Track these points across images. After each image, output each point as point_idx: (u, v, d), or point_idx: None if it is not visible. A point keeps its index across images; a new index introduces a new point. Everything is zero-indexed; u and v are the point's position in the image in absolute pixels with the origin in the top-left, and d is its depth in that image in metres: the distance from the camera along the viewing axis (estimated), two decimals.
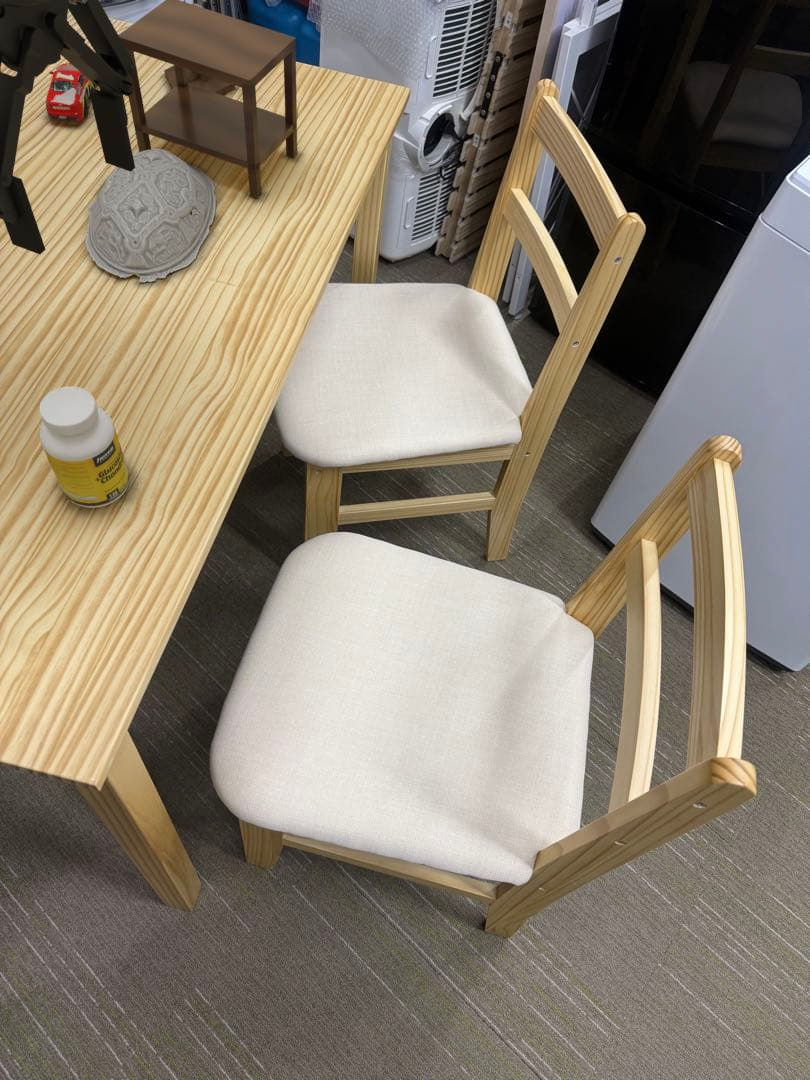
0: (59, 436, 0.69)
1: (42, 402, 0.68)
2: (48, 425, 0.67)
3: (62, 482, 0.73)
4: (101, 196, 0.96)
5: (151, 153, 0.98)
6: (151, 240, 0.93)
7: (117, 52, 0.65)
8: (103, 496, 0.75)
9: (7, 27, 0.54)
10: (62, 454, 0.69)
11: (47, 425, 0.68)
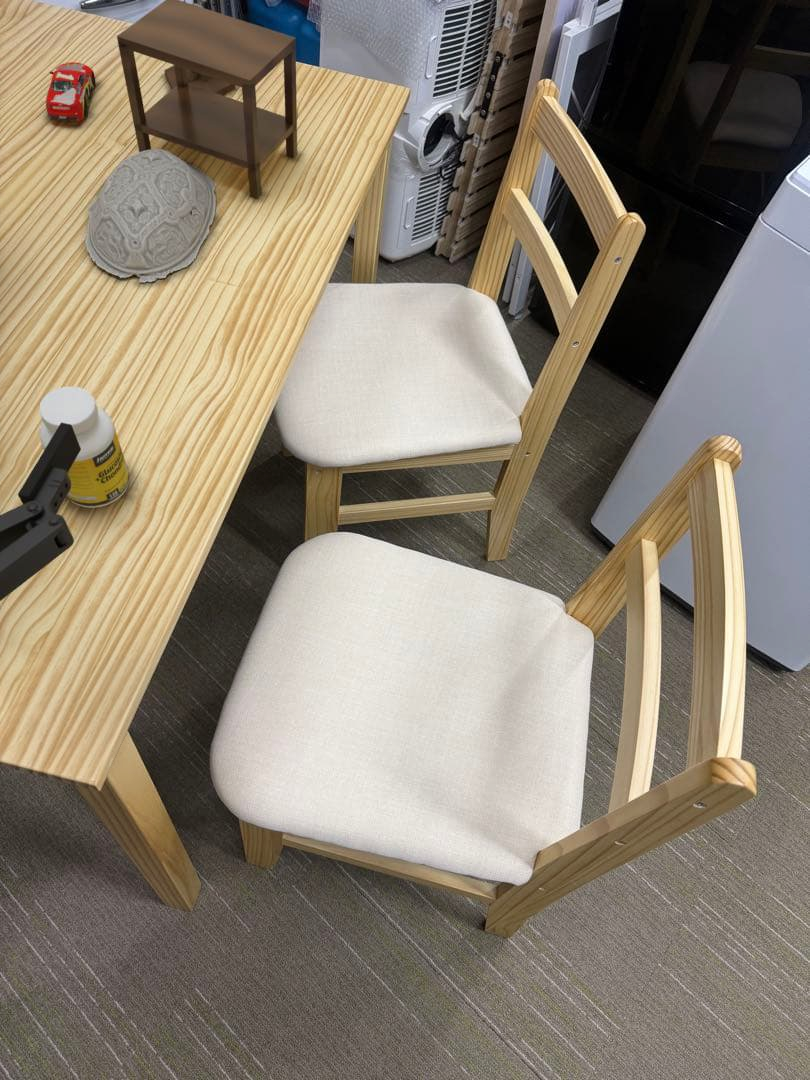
0: None
1: (42, 402, 0.68)
2: (48, 425, 0.67)
3: None
4: (101, 196, 0.96)
5: (151, 153, 0.98)
6: (151, 241, 0.93)
7: None
8: (103, 496, 0.75)
9: None
10: None
11: (47, 425, 0.68)
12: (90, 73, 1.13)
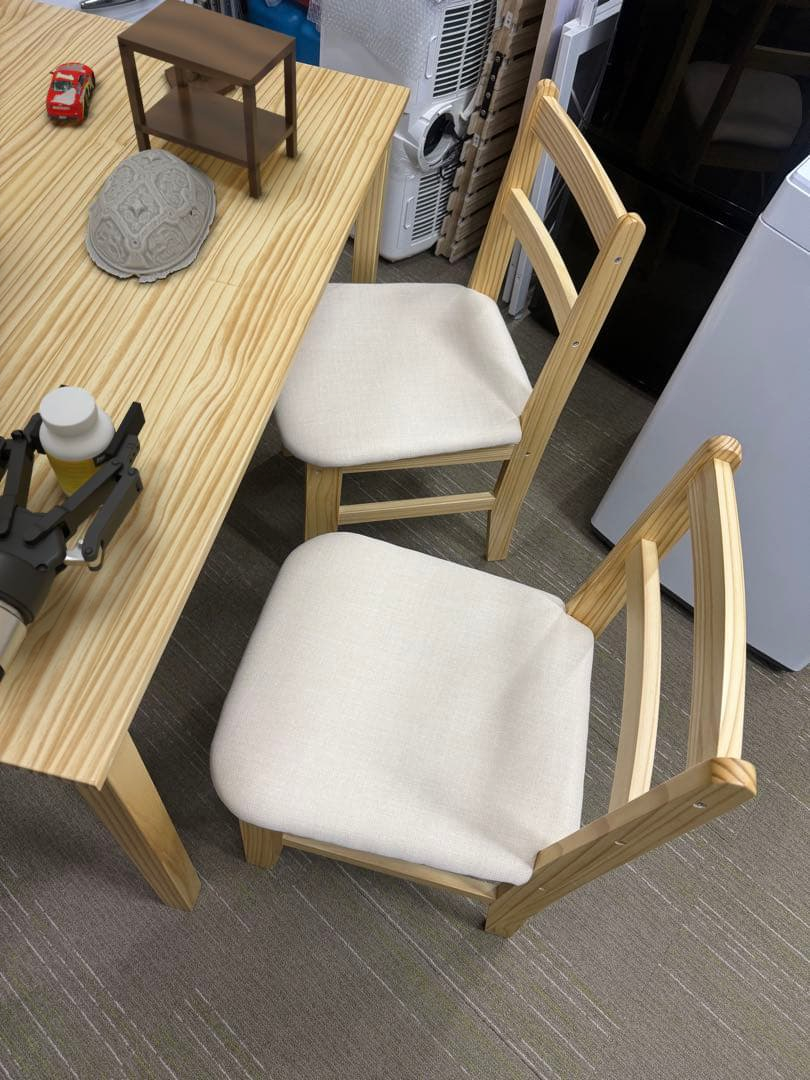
0: (59, 436, 0.69)
1: (42, 402, 0.68)
2: (48, 425, 0.67)
3: (62, 482, 0.73)
4: (101, 196, 0.96)
5: (151, 153, 0.98)
6: (151, 241, 0.93)
7: None
8: None
9: None
10: (62, 454, 0.69)
11: (47, 425, 0.68)
12: (90, 73, 1.13)
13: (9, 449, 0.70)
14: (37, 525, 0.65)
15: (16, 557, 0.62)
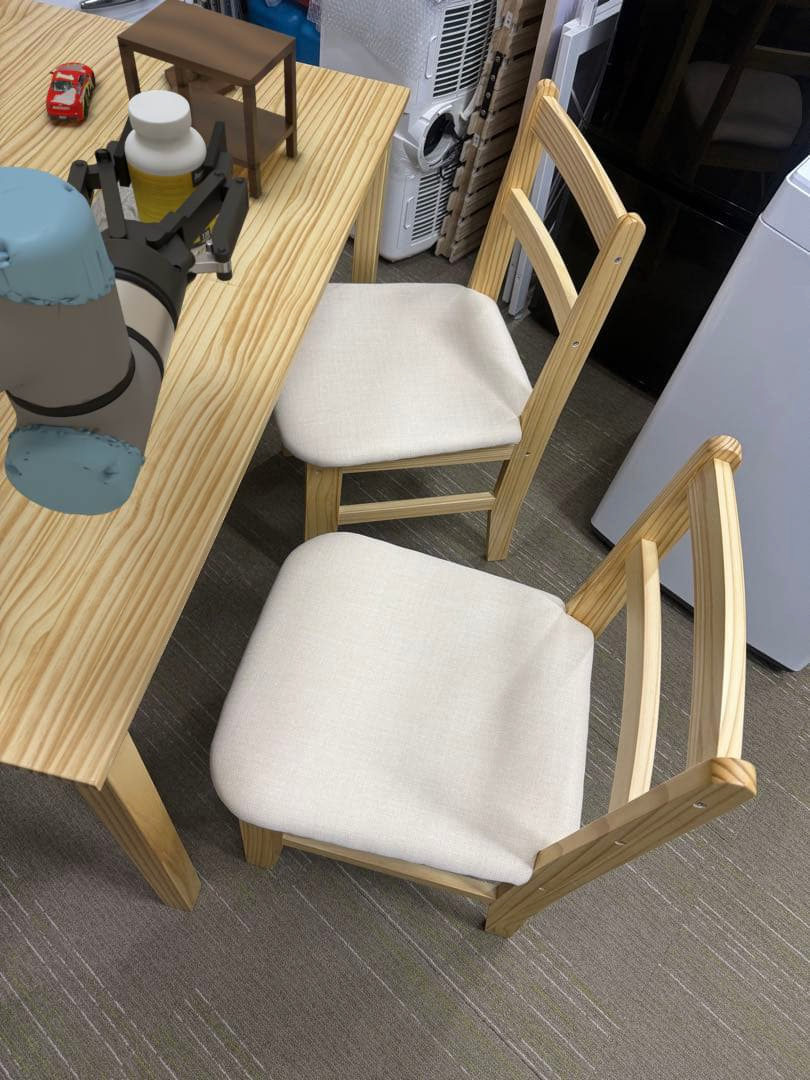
0: (154, 144, 0.61)
1: (130, 104, 0.60)
2: (143, 126, 0.60)
3: (152, 218, 0.65)
4: (101, 196, 0.96)
5: None
6: None
7: None
8: None
9: None
10: (159, 166, 0.61)
11: (141, 127, 0.60)
12: (90, 73, 1.13)
13: (93, 174, 0.62)
14: (158, 228, 0.57)
15: (151, 248, 0.54)
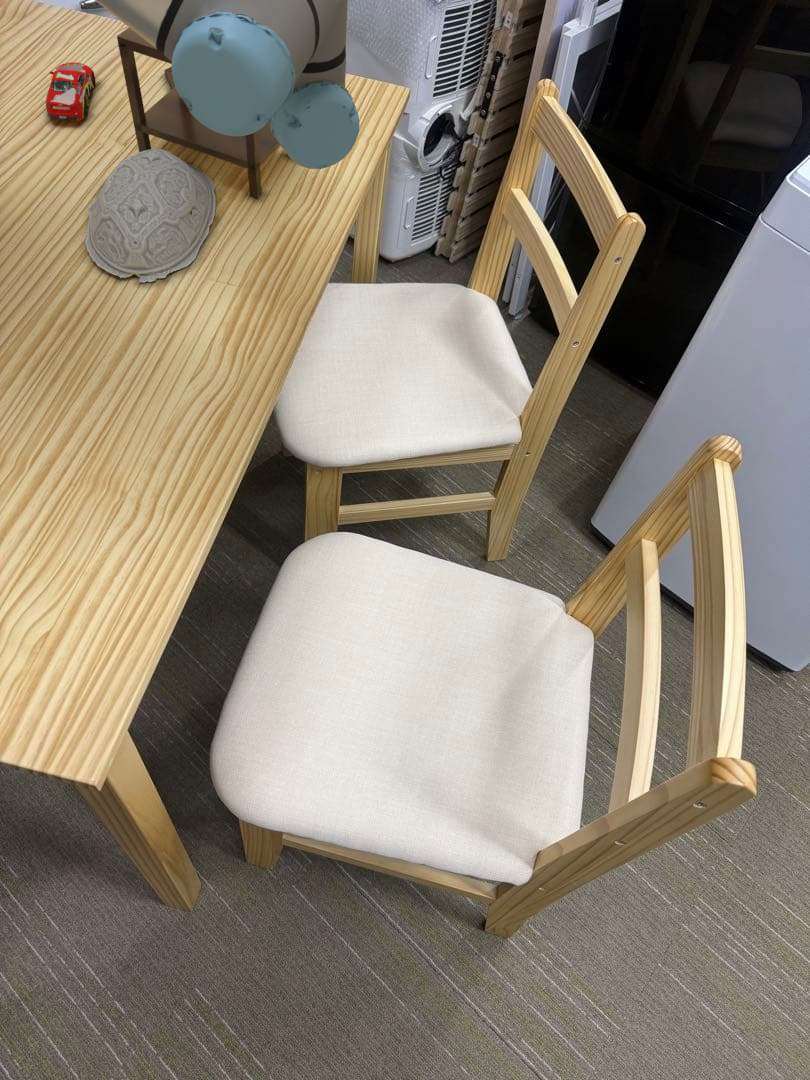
0: None
1: None
2: None
3: None
4: (101, 196, 0.96)
5: (151, 153, 0.98)
6: (151, 241, 0.93)
7: None
8: None
9: None
10: None
11: None
12: (90, 73, 1.13)
13: None
14: None
15: None
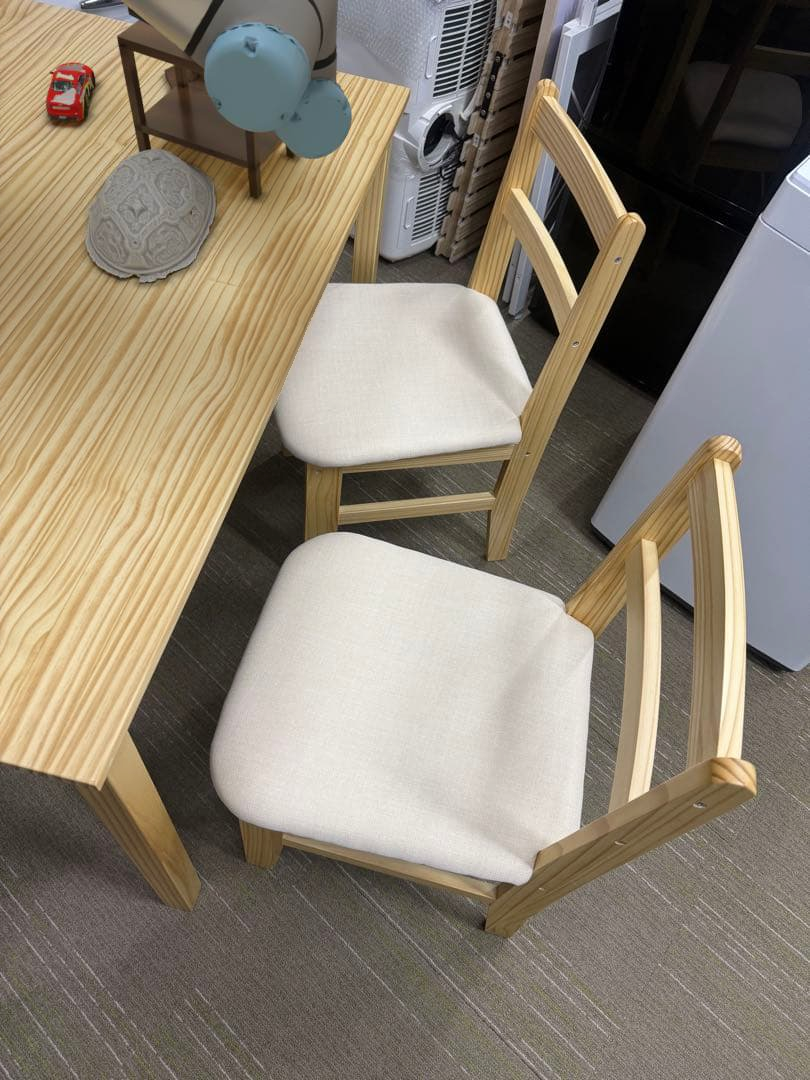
0: None
1: None
2: None
3: None
4: (101, 196, 0.96)
5: (151, 153, 0.98)
6: (151, 241, 0.93)
7: None
8: None
9: None
10: None
11: None
12: (90, 73, 1.13)
13: None
14: None
15: None
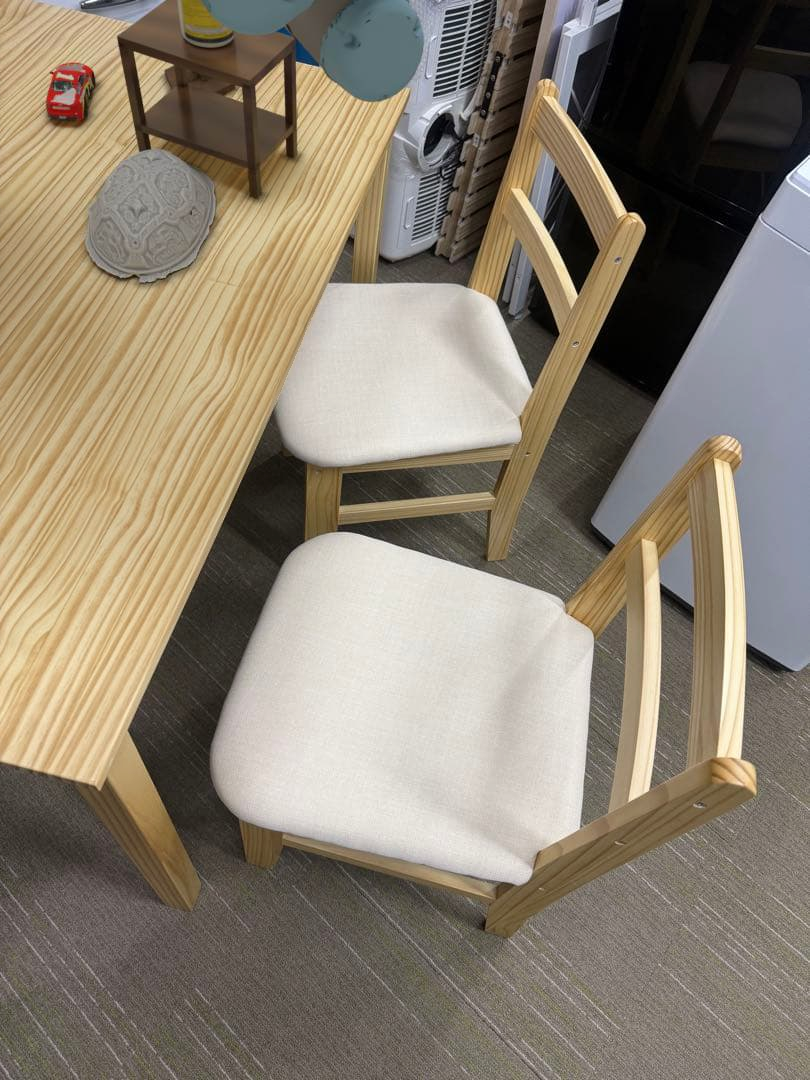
0: None
1: None
2: None
3: (203, 16, 0.91)
4: (101, 196, 0.96)
5: (151, 153, 0.98)
6: (151, 241, 0.93)
7: None
8: None
9: None
10: None
11: None
12: (90, 73, 1.13)
13: None
14: None
15: None
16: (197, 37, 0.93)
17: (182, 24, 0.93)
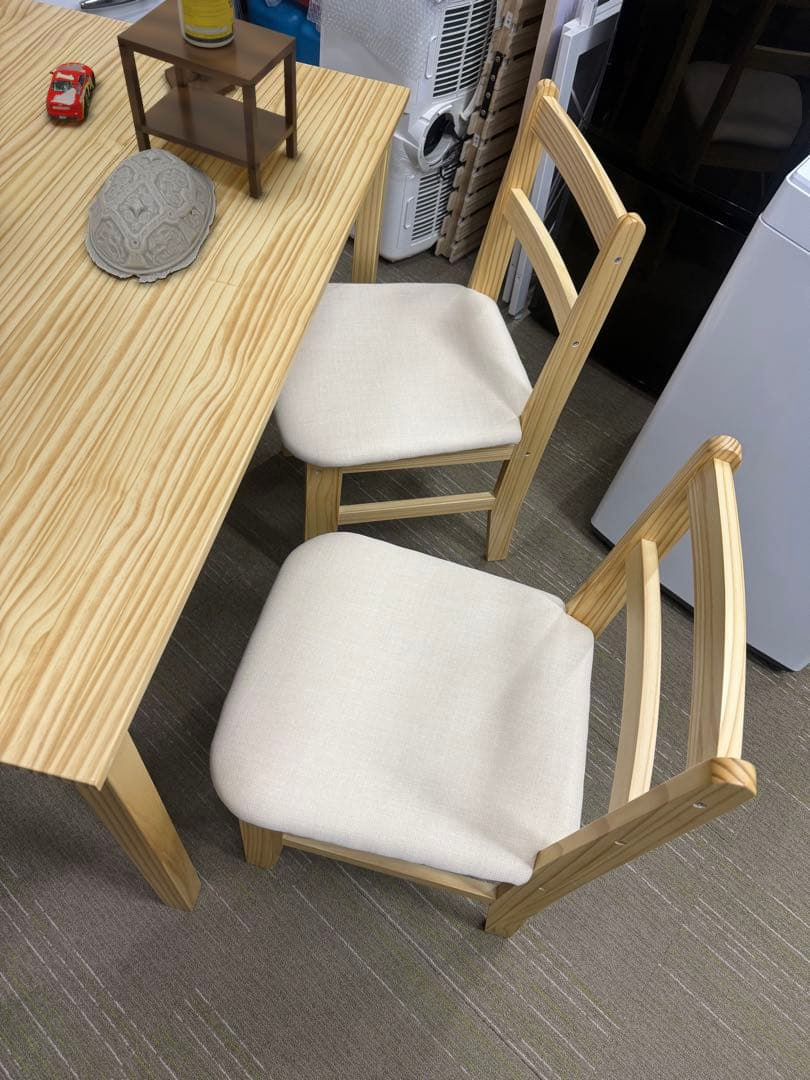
0: None
1: None
2: None
3: (203, 16, 0.91)
4: (101, 196, 0.96)
5: (151, 153, 0.98)
6: (151, 241, 0.93)
7: None
8: (230, 26, 0.94)
9: None
10: None
11: None
12: (90, 73, 1.13)
13: None
14: None
15: None
16: (197, 37, 0.93)
17: (182, 24, 0.93)
